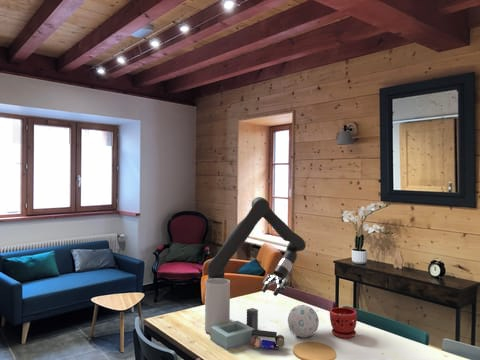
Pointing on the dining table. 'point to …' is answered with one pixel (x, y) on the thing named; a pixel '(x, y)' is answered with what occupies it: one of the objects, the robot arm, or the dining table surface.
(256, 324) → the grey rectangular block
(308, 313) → the puzzle ball
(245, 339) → the well block
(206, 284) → the cylinder vase
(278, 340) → the figurine character
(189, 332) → the dining table surface
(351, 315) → the plant pot
